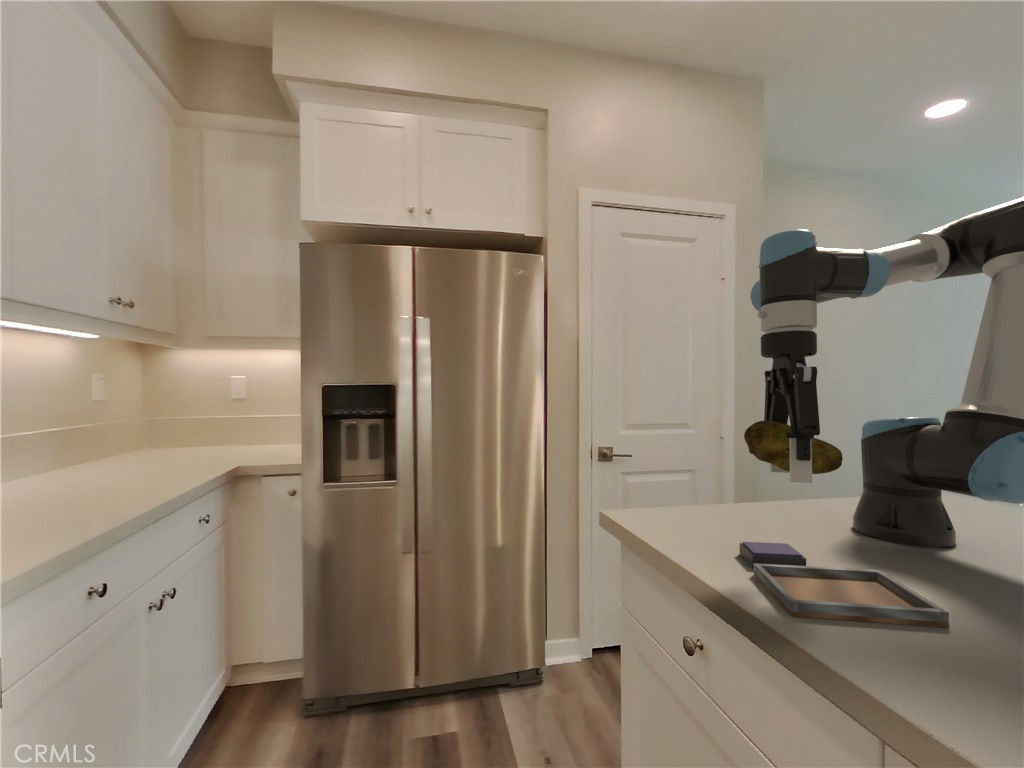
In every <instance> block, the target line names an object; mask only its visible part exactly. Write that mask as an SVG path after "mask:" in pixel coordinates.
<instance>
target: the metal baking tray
mask: <svg viewBox="0 0 1024 768" xmlns="http://www.w3.org/2000/svg"><path fill="white" fill-rule="evenodd" d="M753 567H754V568H753V576H754V577H755V578H756V579H757V580H758V581H759V583H760V584H761V585H763V587H764V588H765V590H767V591H768V592H769V594H770V595H771V596H772V597H773V598H774V599H775V600H776V601H777V602H778V603H779V605H780V606H781V607H782V608H783V609H784V610H785V611H786V612H787V613H788V615H790V617H795V618H797V617H798V618H811V619H812V618H813V619H824V620H839V621H840V620H841V621H852V622H853V621H855V622H870V623H883V624H896V625H897V624H898V625H910V626H911V625H912V626H924V627H926V626H927V627H938V628H939V627H940V628H941V627H942V628H950V613H949V611H947V609H944V608H942V607H941V606H939V605H938V604H936V603H934V602H933V601H931V600H929V599H927V598H926V597H925V596H922V595H921V594H920V593H918V592H916V591H915V590H913V589H911V588H910V587H908V586H906V585H905V584H903V583H901V582H900V581H898V580H897V579H895V578H894V577H892V576H890V575H888V574H887V573H885V572H884V571H882V570H880V569H865V568H848V567H830V566H829V567H828V566H826V567H825V566H811V565H806V566H794V565H775V564H756V563H753Z"/></svg>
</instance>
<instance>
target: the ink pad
mask: <svg viewBox="0 0 1024 768" xmlns="http://www.w3.org/2000/svg"><path fill="white" fill-rule="evenodd" d="M739 555H740V557H742V559H743V560H744V561H745V562H746V563H747V564H748V565H749V566H750V567H751V568H752V569H754V567H753V563H756V564H775V565H794V566H807V558H806V557H805V556H804V555H803V554H802V553H800V552H799V551H798V550H797V549H796V548H794V547H792V546H791V544H788V543H783V542H780V543H779V542H759V541H758V542H756V541H742V542H740V543H739Z"/></svg>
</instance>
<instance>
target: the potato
mask: <svg viewBox="0 0 1024 768" xmlns="http://www.w3.org/2000/svg"><path fill="white" fill-rule="evenodd" d="M744 431H745V432H744V433H743V438H744V441H745V443H746V445H747V448H748V452H749V454H750V455H754V457H755V458H756V459H757V460H759V461H761V462H765V463H767V464H769V465H770V464H773V465H776V466H778V467H779V468H781V469H783V470H786V471H789V472H790V465H789V438H788V437H787V435H788V434H790V433H792V430H791V425H790V424H788V423H787V424H785V423H781V422H775V421H765V420H764V419H763V420H759V421H757V422H754V423H753V424H751V425H750V426H749V427H747V428H746V429H745V430H744ZM843 460H844V458H843V453H842V451H841V449H839V448H838V447H837V446H835V445H834V444H831V443H830V442H828V441H824V440H823V439H820V438H816V437H814V438H813V439H812V475H820V474H821V475H822V474H823V475H824V474H827V473H831V472H834V471H836V470H839V469H840V468H841V466H842V464H843Z"/></svg>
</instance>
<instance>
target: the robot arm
mask: <svg viewBox="0 0 1024 768" xmlns="http://www.w3.org/2000/svg"><path fill="white" fill-rule="evenodd" d="M817 244H818V242H817V240H816V234H815V233H814V232H813V231H810V230H808V229H792V230H791V229H790V230H784V231H781V232H778V233H774V234H772V235H770V236H768V237H767V238H765V239H764V240H763V241H762V242H761V245H760V250H759V263H758V264H759V265H758V269H759V280H758V281H756V282H755V283H754V285H752V287H751V291H750V301H751V304H752V306H753V308H754V309H755V310H756V311H758V313H757V315H756V316H757V318H759V319H760V331H762V332H763V333H764V334H762V336H760V356H761V357H763V358H764V359H765V358H766V359H772V360H773V361H772V367H771V369H770V370H765V372H764V374H763V375H764V381H765V383H764V384H765V387H764V388H765V389H764V391H765V393H764V415H763V416H764V419H763V421H764V420H765V421H775V422H781V423H785V424H787V425H788V423H789V425H790V426H791V430H792V433H790V434H788V435H787V437H788V438H789V465H790V472H789V471H786V470H783V469H781V468H779V467H778V466H776V465H773V464H770V463H769V472H771V473H783V474H785V473H786V474H788V473H789V482H791V483H802V484H803V483H804V484H806V483H807V484H812V483H813V474H812V439H813V438H815V436H820V434H821V425H820V424H821V423H820V413H819V412H820V411H819V403H818V402H819V401H818V386H817V381H818V380H817V379H818V368H817V366H807V362H806V358H809V357H814V356H815V355H817V353H818V334H817V333H816V332H815V331H813V330H814V329H816V328H817V327H818V304H821V303H824V302H829V301H833V300H837V299H842V298H843V299H844V298H848V299H849V298H851V299H852V300H853V299H858V298H869V297H872V296H874V295H876V294H878V293H879V292H881V291H882V290H883V289H884V287H888V286H889V287H890V286H892V285H896V284H901V283H905V282H909V281H912V282H914V283H915V282H917V283H925V282H931V281H933V280H939V279H946V278H955V277H962V276H964V277H965V276H970V275H971V276H972V275H977V274H979V275H980V274H983V273H984V275H986V276H988V277H989V278H990V279H991V280H990V284H989V289H988V292H987V296H986V300H985V304H984V308H983V311H982V317H981V320H980V323H979V324H980V325H979V328H978V332H977V336H976V339H975V340H976V341H975V344H974V348H973V352H972V356H971V361H970V364H969V368H968V373H967V375H966V380H965V383H964V384H965V385H964V388H963V393H962V395H961V400H960V403H959V404H958V405H957V406H955V407H952V408H950V409H948V410H946V411H945V415H944V419H943V422H942V423H941V421H940V419H939V418H938V417H935V416H919V417H918V416H917V417H916V416H914V417H895V418H881V419H878V418H877V419H870V420H868V421H865V422H864V423H863V425H862V426H861V427H862V428H861V438H860V444H861V446H860V447H861V463H862V464H861V467H862V469H861V470H862V472H861V473H862V493H861V495H860V498H859V500H858V504H857V506H856V508H855V510H854V513H853V516H852V527H853V529H854V530H855V531H857V532H858V533H861V534H863V535H866V536H868V537H871V538H874V539H878V540H882V541H887V542H890V543H895V544H899V545H900V544H901V545H906V546H914V547H924V548H947V547H948V548H949V547H953V546H955V545H956V543H957V538H956V537H957V536H956V534H957V533H956V530H955V527H954V525H953V523H952V521H951V518H950V516H949V513H948V511H947V509H946V507H945V504H944V502H943V500H942V491H946V492H950V493H956V494H960V495H966V496H970V497H975V498H977V499H978V498H979V499H981V500H984V501H987V502H999V503H1000V502H1001V503H1008V504H1015V505H1017V504H1018V505H1022V504H1024V196H1022V197H1020V198H1016V199H1013V200H1010V201H1008V202H1005V203H1002V204H998V205H995V206H993V207H990V208H986V209H984V210H981V211H977V212H974V213H972V214H969V215H967V216H966V215H965V216H964V217H961V218H958V219H957V220H954V221H951V222H949V223H947V224H945V225H943V226H940V227H937V228H934V229H932V230H930V231H926V232H923V233H918V234H915V235H912V236H910V237H909V238H908V239H906V240H905V241H904V242H903V243H897V244H894V245H890V246H886V247H881V248H878V249H872V250H869V249H868V250H867V249H864V248H857V249H853V248H852V249H851V248H824V247H819V246H817Z"/></svg>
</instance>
